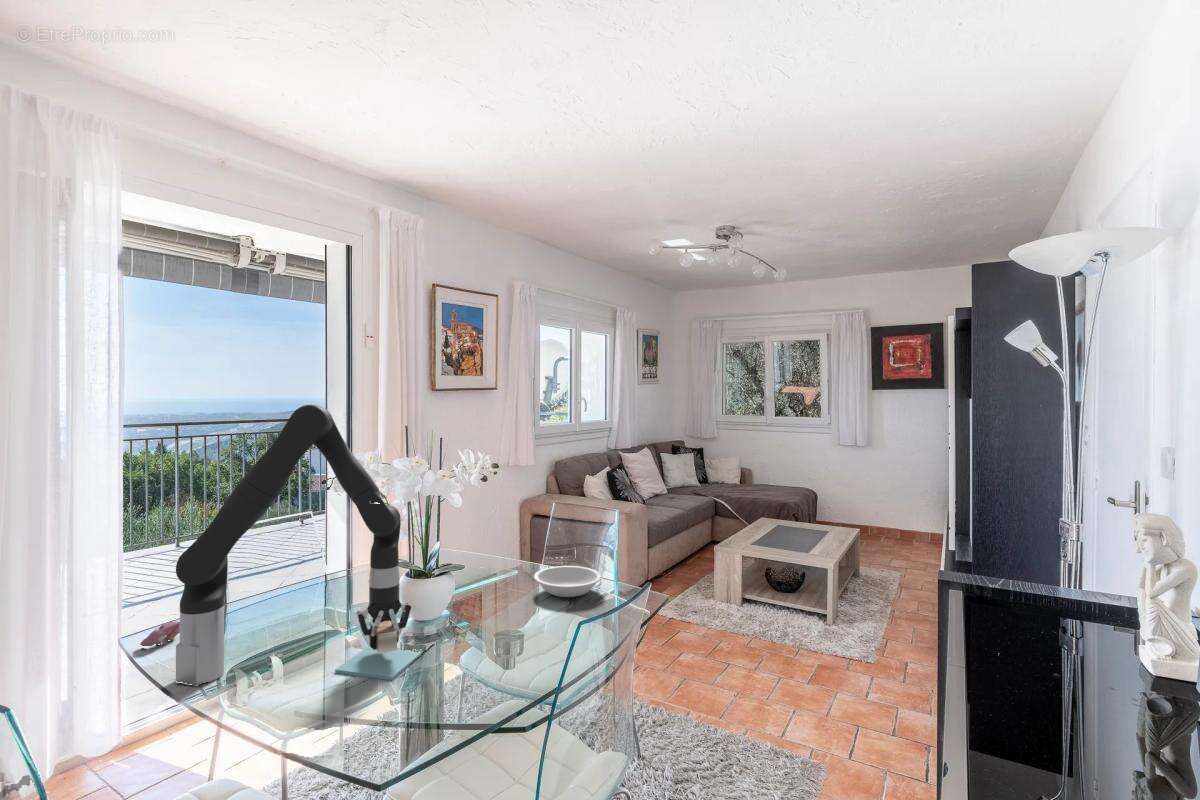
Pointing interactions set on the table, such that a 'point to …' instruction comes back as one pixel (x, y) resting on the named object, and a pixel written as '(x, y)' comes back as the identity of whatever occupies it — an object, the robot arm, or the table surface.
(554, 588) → the soup bowl
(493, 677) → the table surface
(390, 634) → the wooden block
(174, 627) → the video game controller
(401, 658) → the board
